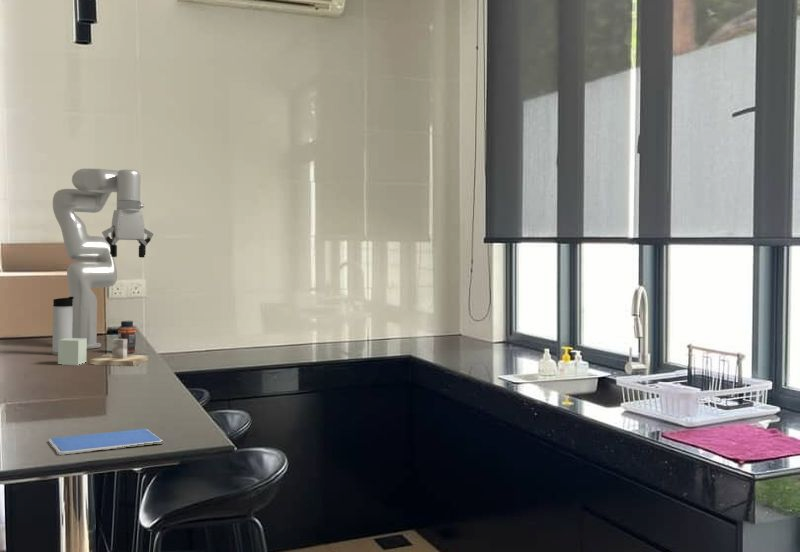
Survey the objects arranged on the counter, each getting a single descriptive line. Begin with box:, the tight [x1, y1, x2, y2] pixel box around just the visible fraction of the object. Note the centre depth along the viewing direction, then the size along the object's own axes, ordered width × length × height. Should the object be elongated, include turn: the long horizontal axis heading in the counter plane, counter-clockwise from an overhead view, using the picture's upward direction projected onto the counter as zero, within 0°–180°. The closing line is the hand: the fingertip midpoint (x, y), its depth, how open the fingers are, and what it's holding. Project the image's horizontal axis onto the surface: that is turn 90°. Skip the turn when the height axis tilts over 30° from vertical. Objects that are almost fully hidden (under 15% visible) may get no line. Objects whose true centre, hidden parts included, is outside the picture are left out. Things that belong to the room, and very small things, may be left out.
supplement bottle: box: [117, 320, 137, 354], centre depth 284 cm, size 6×6×11 cm
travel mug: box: [52, 296, 74, 356], centre depth 275 cm, size 6×7×20 cm
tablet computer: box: [47, 428, 163, 454], centre depth 157 cm, size 19×13×1 cm, turn 123°
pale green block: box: [57, 338, 88, 366], centre depth 255 cm, size 6×6×8 cm
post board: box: [89, 338, 149, 367], centre depth 261 cm, size 14×14×8 cm
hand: (127, 257), depth 270 cm, fingers open, 9 cm apart
